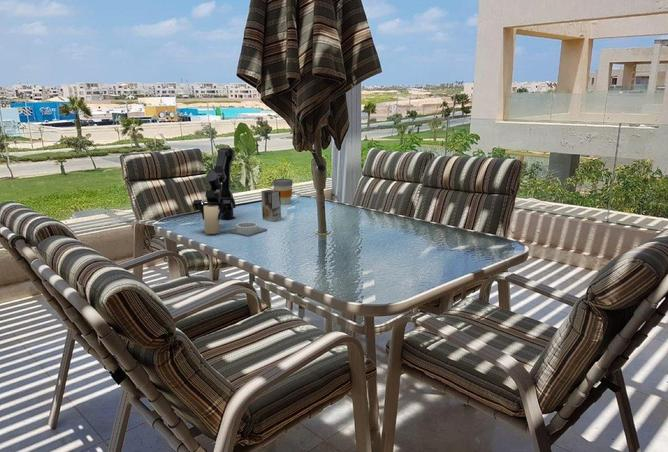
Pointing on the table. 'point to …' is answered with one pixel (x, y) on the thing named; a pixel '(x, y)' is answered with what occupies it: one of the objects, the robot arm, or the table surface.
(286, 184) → the reusable coffee cup
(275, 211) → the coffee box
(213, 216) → the kraft roll
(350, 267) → the table surface
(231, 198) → the robot arm
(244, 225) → the ring holder
